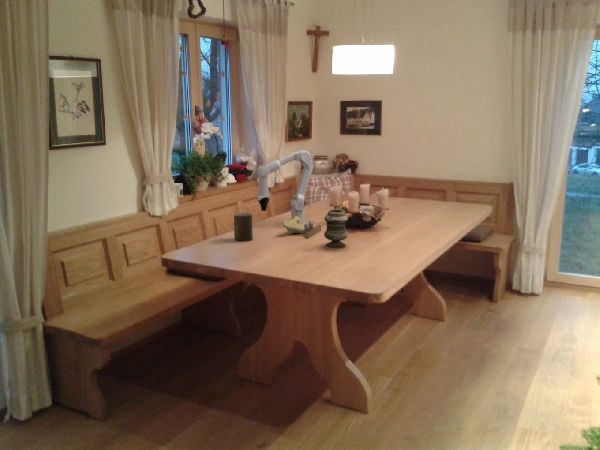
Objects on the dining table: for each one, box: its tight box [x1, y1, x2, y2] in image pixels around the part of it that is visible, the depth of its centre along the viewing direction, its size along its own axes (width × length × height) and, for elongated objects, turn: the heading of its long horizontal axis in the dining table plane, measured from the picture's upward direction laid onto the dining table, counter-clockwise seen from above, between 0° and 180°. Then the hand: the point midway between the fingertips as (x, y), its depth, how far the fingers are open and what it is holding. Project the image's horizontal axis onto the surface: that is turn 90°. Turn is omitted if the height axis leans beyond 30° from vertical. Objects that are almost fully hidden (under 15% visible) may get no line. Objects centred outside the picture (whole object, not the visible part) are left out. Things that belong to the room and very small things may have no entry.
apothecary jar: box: [323, 208, 349, 249], centre depth 288 cm, size 12×12×18 cm
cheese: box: [282, 216, 304, 235], centre depth 316 cm, size 15×7×15 cm
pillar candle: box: [233, 212, 254, 243], centre depth 302 cm, size 10×10×15 cm
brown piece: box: [303, 220, 322, 239], centre depth 314 cm, size 20×5×6 cm, turn 158°
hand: (263, 210), depth 329 cm, fingers closed
